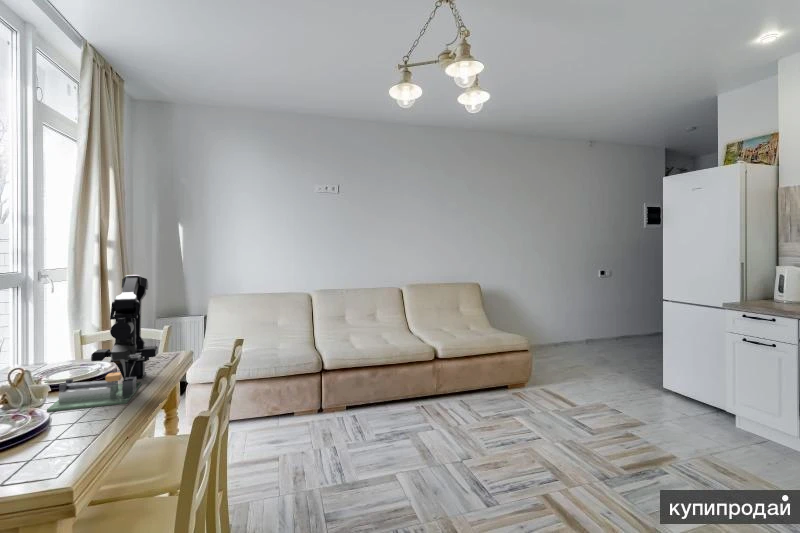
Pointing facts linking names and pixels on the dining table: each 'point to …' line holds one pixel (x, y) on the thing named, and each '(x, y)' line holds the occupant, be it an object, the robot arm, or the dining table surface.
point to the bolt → (113, 376)
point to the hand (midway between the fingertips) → (126, 377)
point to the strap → (90, 384)
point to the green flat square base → (94, 395)
